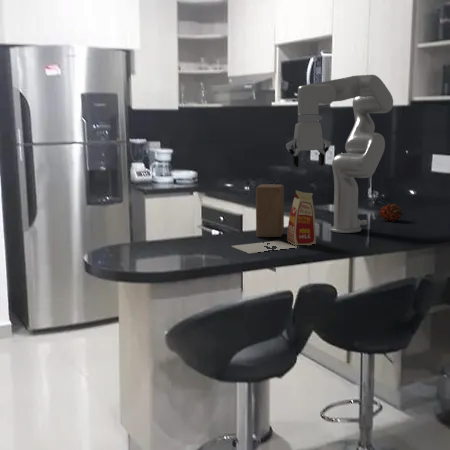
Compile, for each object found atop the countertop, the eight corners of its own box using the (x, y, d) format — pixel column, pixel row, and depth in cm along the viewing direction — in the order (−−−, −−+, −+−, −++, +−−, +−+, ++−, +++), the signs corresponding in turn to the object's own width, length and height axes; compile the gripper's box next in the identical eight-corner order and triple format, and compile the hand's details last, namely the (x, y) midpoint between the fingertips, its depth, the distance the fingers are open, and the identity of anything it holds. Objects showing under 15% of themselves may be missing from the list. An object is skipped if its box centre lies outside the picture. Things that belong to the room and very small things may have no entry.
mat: (278, 241, 244) (278, 240, 244) (298, 248, 232) (298, 247, 232) (231, 246, 236) (231, 245, 236) (248, 253, 223) (248, 253, 223)
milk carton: (295, 246, 235) (295, 191, 232) (286, 241, 244) (286, 189, 240) (318, 244, 237) (319, 190, 234) (308, 240, 246) (308, 188, 243)
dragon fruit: (400, 226, 280) (379, 226, 291) (410, 213, 284) (389, 214, 294) (391, 212, 277) (370, 212, 288) (401, 199, 281) (380, 200, 291)
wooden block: (281, 238, 250) (281, 187, 247) (255, 237, 252) (255, 186, 249) (284, 233, 260) (284, 184, 257) (259, 232, 262) (259, 184, 259)
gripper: (326, 118, 242) (326, 163, 245) (282, 120, 239) (283, 166, 242) (334, 118, 235) (334, 165, 238) (288, 120, 231) (289, 168, 235)
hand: (308, 165), depth 240 cm, fingers open, 9 cm apart
